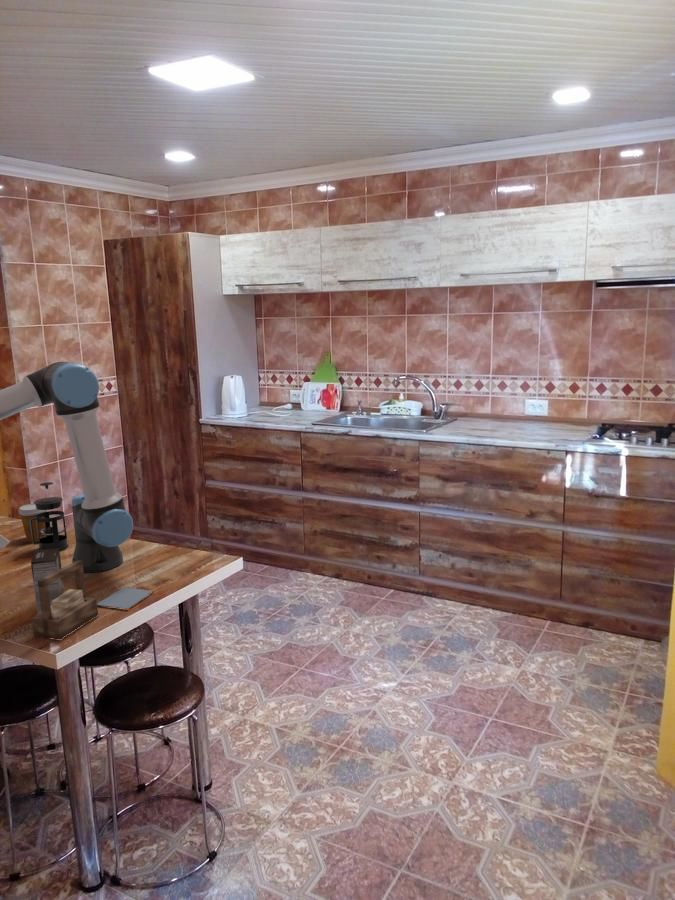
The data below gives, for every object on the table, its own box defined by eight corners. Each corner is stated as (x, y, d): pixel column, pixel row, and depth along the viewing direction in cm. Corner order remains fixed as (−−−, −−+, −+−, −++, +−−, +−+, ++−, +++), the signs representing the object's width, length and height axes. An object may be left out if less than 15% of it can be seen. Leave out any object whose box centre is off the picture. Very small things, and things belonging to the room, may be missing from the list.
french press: (65, 541, 235) (58, 477, 231) (74, 548, 228) (67, 482, 223) (30, 549, 228) (22, 483, 224) (37, 556, 221) (29, 488, 216)
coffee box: (40, 606, 182) (34, 550, 179) (66, 603, 184) (60, 547, 181) (36, 620, 173) (29, 561, 170) (63, 617, 175) (56, 558, 172)
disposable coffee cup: (55, 538, 239) (52, 505, 237) (29, 545, 232) (25, 511, 230) (43, 532, 245) (39, 501, 243) (17, 539, 238) (13, 507, 236)
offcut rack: (73, 612, 178) (67, 559, 175) (98, 616, 175) (92, 561, 172) (34, 636, 165) (26, 579, 162) (60, 641, 162) (53, 582, 159)
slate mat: (123, 589, 192) (123, 587, 192) (153, 593, 189) (153, 591, 189) (96, 606, 181) (96, 604, 181) (127, 610, 178) (127, 608, 178)
